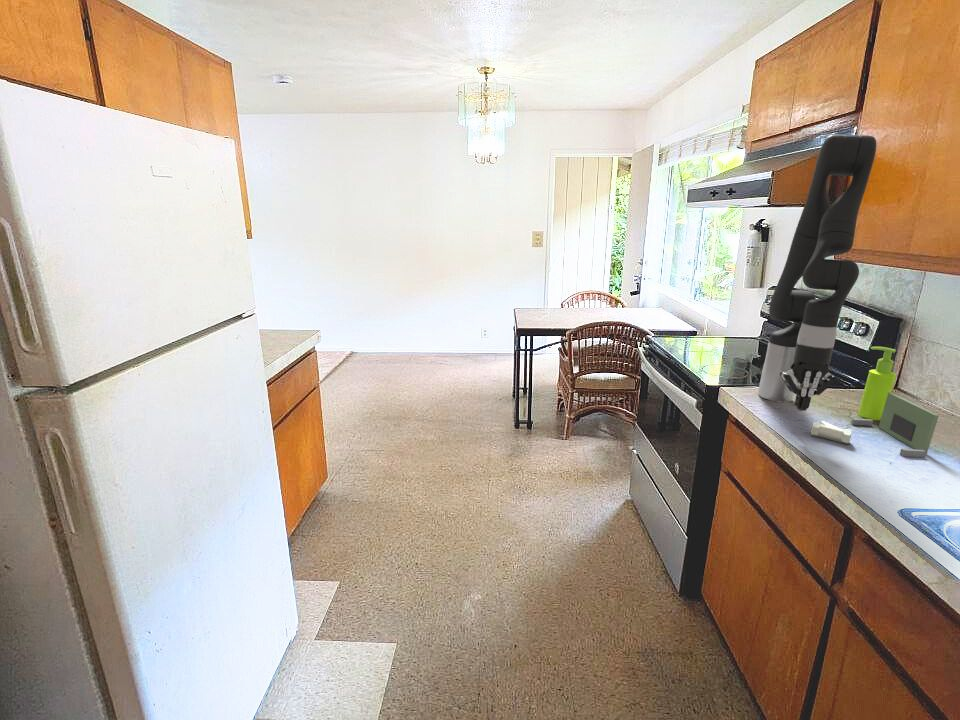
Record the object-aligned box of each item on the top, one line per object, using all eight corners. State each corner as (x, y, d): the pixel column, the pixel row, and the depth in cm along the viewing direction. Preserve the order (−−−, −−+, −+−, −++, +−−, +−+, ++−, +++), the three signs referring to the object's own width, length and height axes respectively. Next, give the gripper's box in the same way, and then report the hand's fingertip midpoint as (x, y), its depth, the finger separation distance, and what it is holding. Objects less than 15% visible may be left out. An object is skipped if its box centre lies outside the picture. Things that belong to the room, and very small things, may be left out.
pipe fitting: (813, 431, 131) (809, 437, 126) (816, 417, 130) (813, 422, 125) (850, 440, 126) (847, 447, 121) (854, 425, 125) (851, 432, 120)
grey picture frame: (850, 423, 135) (859, 389, 132) (877, 424, 134) (887, 390, 131) (902, 456, 117) (913, 417, 114) (933, 457, 116) (945, 418, 114)
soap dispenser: (855, 409, 145) (873, 343, 139) (885, 416, 140) (904, 348, 134) (851, 414, 141) (869, 347, 135) (882, 422, 136) (901, 352, 130)
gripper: (833, 340, 123) (818, 405, 128) (779, 338, 124) (766, 403, 128) (853, 347, 116) (837, 416, 121) (795, 345, 117) (781, 413, 121)
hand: (800, 409), depth 125 cm, fingers closed
